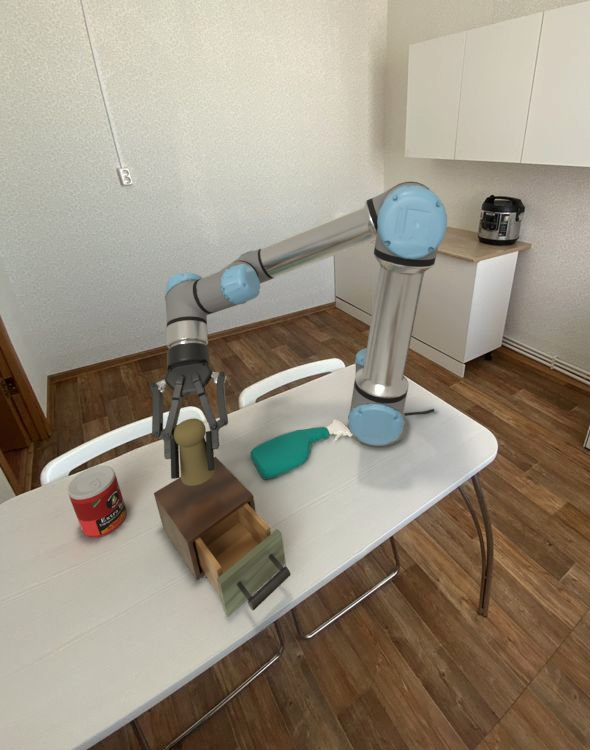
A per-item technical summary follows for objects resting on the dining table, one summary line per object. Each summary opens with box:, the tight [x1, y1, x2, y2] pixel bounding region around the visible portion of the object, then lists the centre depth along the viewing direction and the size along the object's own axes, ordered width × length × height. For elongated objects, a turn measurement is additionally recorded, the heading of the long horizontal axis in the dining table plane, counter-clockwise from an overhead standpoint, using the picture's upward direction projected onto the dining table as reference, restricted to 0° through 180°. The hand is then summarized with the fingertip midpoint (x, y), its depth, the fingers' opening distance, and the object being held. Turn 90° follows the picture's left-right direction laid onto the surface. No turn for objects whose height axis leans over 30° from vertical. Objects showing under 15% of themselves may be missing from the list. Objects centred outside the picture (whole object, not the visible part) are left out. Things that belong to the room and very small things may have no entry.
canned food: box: [67, 465, 127, 539], centre depth 76 cm, size 8×8×11 cm
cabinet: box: [153, 456, 257, 581], centre depth 74 cm, size 15×13×10 cm
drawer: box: [193, 503, 292, 617], centre depth 66 cm, size 18×11×8 cm, turn 47°
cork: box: [174, 417, 216, 486], centre depth 69 cm, size 6×6×11 cm
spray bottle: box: [250, 418, 353, 480], centre depth 96 cm, size 3×11×24 cm
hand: (193, 473), depth 67 cm, fingers closed on cork, 5 cm apart
